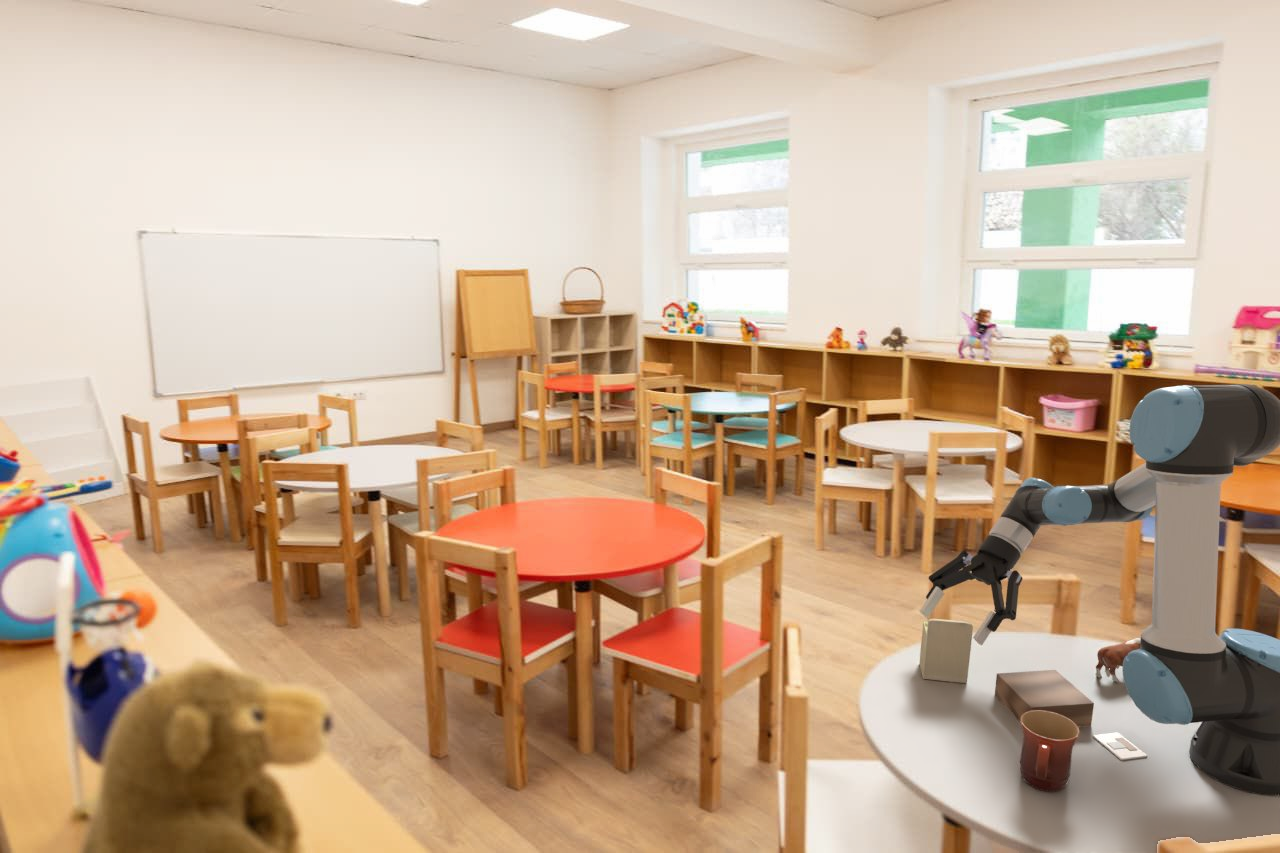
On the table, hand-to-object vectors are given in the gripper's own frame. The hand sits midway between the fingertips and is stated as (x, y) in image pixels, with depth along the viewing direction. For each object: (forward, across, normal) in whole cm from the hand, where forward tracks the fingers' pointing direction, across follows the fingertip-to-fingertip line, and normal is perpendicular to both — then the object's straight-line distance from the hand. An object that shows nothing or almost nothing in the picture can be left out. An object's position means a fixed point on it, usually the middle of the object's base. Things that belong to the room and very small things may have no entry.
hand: (949, 628), depth 173 cm
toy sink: (+8, -1, -5) cm, 10 cm away
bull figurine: (-13, -20, -26) cm, 36 cm away
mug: (+18, -34, +6) cm, 39 cm away
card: (+3, -34, -9) cm, 36 cm away
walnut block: (+5, -20, -8) cm, 22 cm away
